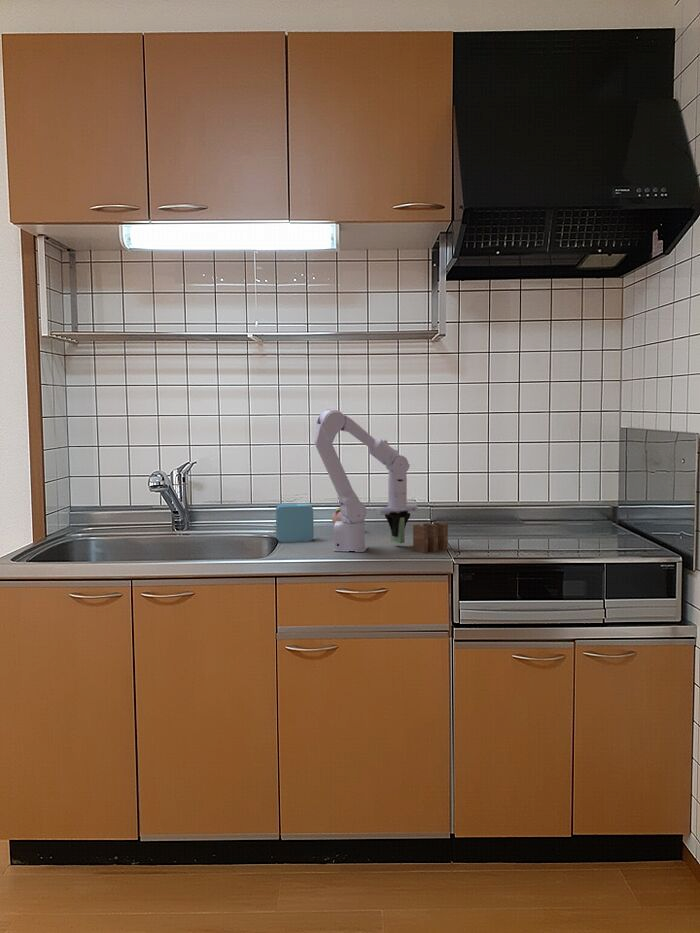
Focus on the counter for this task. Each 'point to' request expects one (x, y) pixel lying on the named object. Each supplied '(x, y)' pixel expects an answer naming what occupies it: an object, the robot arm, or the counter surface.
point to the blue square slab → (294, 522)
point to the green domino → (399, 532)
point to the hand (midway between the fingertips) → (397, 535)
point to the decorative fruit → (337, 516)
